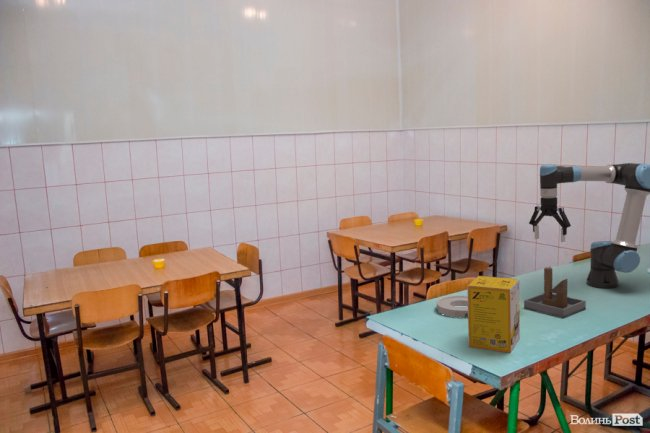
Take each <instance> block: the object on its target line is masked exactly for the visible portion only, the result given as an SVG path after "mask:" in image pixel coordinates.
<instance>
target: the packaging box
mask: <svg viewBox="0 0 650 433" xmlns="http://www.w3.org/2000/svg"><path fill="white" fill-rule="evenodd" d="M466 287H467V289H466V290H467V293H466V294H467V296H468V316H467V331H468V333H467V334H468V335H467V337H468V347H469V348H474V347H475V348H476V349H481V348H482V349H481V350H487V349H488V351H496V352H500V353H502V352H503V353H509V354H512V352H513V350H514V348H515V347H516V345H518V344H517V343H518V342H519V340H520V339H521V338H520V337H521V333H520V330H521V328H520V324H521V323H520V322H521V318H520V317H521V316H520V312H521V311H520V306H521V305H520V278H510V277H498V276H497V277H496V276H488V275H487V276H486V275H478V276H477V277H476V278H474V279H473V280H472V281H471V282H470V283H469V284H467V285H466Z"/></svg>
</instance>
